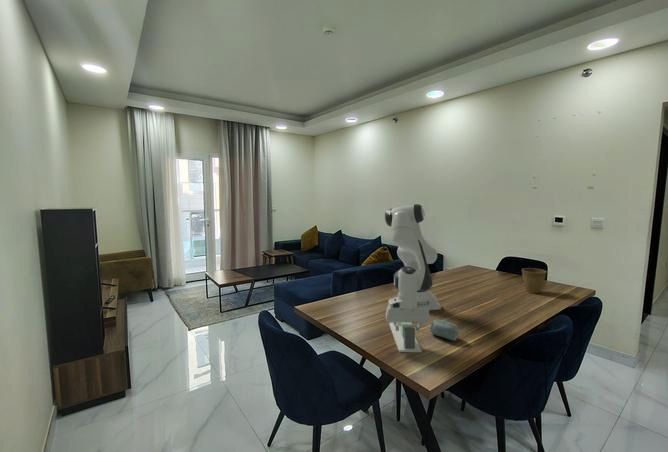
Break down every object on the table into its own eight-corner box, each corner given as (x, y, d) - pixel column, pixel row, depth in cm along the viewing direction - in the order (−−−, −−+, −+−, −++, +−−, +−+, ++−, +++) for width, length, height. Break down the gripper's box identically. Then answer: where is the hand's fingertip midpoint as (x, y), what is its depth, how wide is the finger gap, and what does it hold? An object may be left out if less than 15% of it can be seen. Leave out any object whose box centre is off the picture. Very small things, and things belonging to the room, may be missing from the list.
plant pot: (544, 291, 228) (546, 269, 226) (545, 296, 215) (546, 273, 213) (520, 287, 235) (522, 266, 234) (520, 293, 223) (521, 271, 221)
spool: (424, 329, 157) (433, 312, 157) (432, 332, 164) (441, 315, 164) (447, 345, 147) (457, 327, 147) (455, 348, 153) (465, 330, 154)
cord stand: (407, 324, 171) (407, 307, 170) (421, 352, 141) (421, 331, 140) (389, 324, 171) (389, 307, 170) (399, 352, 142) (399, 331, 141)
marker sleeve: (411, 333, 151) (411, 322, 150) (413, 337, 146) (413, 326, 145) (400, 333, 151) (400, 322, 150) (402, 337, 146) (402, 326, 145)
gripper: (428, 299, 150) (427, 327, 151) (385, 299, 150) (384, 327, 152) (432, 304, 143) (431, 333, 145) (387, 304, 144) (386, 333, 145)
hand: (407, 330), depth 148 cm, fingers open, 8 cm apart
